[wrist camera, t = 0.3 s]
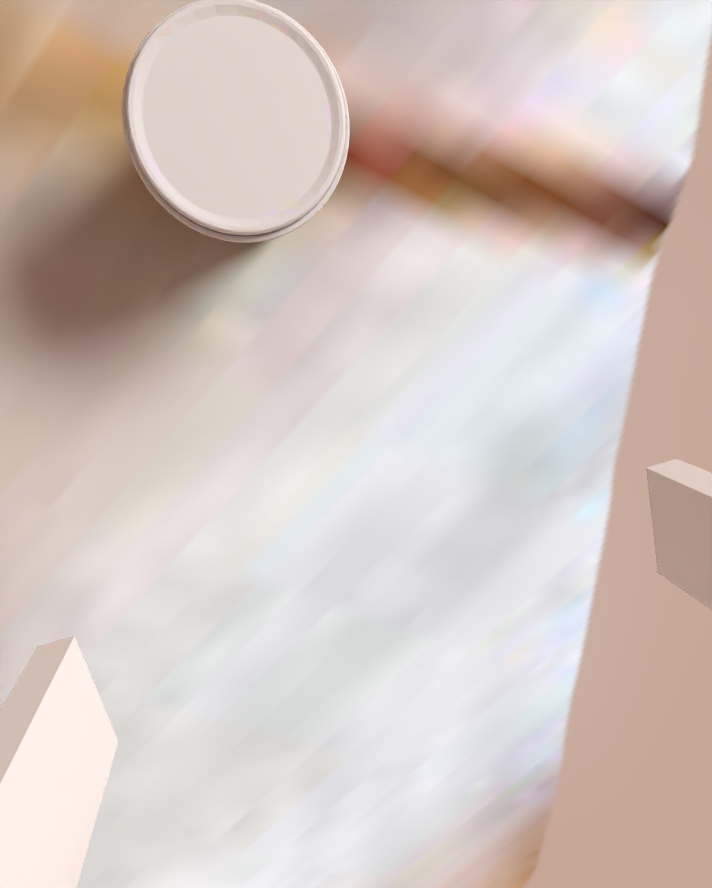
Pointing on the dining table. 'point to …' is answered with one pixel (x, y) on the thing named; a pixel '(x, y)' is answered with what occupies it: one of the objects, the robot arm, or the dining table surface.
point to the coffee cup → (235, 120)
